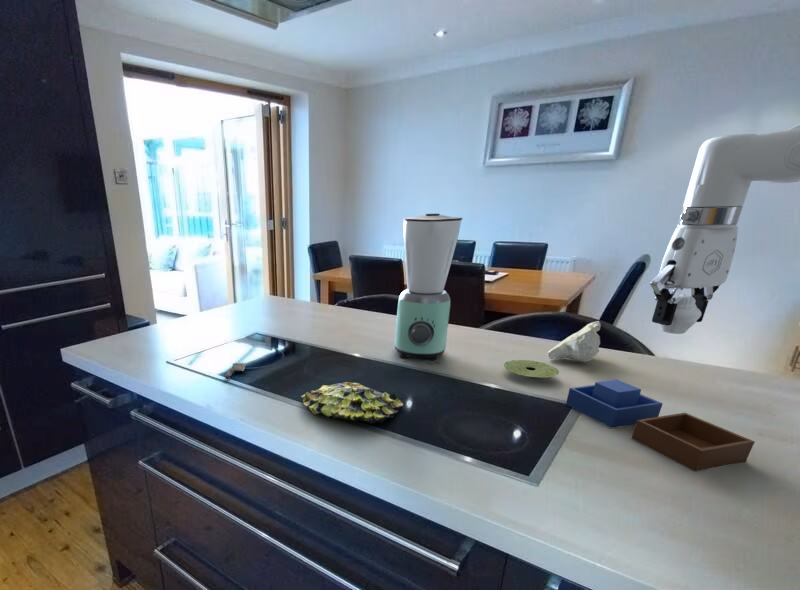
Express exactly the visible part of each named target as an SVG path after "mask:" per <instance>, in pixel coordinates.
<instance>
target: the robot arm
mask: <svg viewBox="0 0 800 590" xmlns="http://www.w3.org/2000/svg"><path fill="white" fill-rule="evenodd" d="M752 182H760V183H764V184H791V183H798V182H800V123H798V124H795V125H793V126H792V127H790V128H787V129H785V130H782V131H774V132H767V133H761V134H757V133H739V134H738V133H737V134H727V135H720V136H715V137H711V138H709V139H706V140H704V142H703V143H702V144H701V145H700V146H699V149H698V152H697V154H696V158H695V162H694V166H693V169H692V173H691V176H690V180H689V182H688V187H687V190H686V193H685V197H684V202H683V204H682V208H681V212H680V215H679V218H678V222H677V225H676V228H675V229H674V231H673V234H672V235H671V238H670V240H669V243H668V245H667V248H666V250H665V252H664V256H663V258H662V260H661V265H660V268H659V272H658V274H657V275H656V276H655V277H654V278H653V279H652V280H651V281H650V283H649V285H650V287H651V289H652V291H653V294H654V296H655V298H654V300H655V302H656V305H655V308H654V311H653V315H652V317H651V323H655V324H658V325H660V324H662V325H666V326H668V325H671V324H672V321H673V317H674V314H675V311H676V308H677V304H676V303H674V302H675V301H676V299H677V298H678V296H679V295H681V293H682V292H683V290H684V289H686V290H687V289H691V295H690V296H691V297H693V298H694V299H695V300H696V302H695V305H696V306H697V308H698V309H699V310H700V311H701V317H700V318H699V319H698V320H697V322H696V323H701V322H702V321H703V319H704V317H705V313H706V310H707V307H708V304H709V301H710V300H712V299H713V297H714V294H715V292H716V291H717V290H718V289H719V288H720V286H721V285H723V284H724V283H725V282H726V281H727V279H728V276H729V273H730V269H731V267H732V262H733V260H734V259H733V258H734V254H735V251H736V246H737V240H738V232H739V231H738V229H739V227H738V222H739V219H740V217H741V214H742V210H743V208H744V205H745V202H746V198H747V196H748V195H747V194H748V192H749V190H750V186H751V184H752ZM670 290H672V292H670Z"/></svg>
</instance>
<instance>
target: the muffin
mask: <svg viewBox="0 0 800 590" xmlns="http://www.w3.org/2000/svg"><path fill="white" fill-rule="evenodd" d="M695 302H696V300H695V299H694V298H693V297H692V296H691V295H686V294H685V293H683V294H680V295H679V296H678V298H677V299H676V301H675V302H674V303H676V304H677V308H676V311H675V314H674V317H673V321H672V324H671V325H668V326H666V325H662V324H659V326H660V329H661V331H662V332H664V333H667V334H676V335H684V334H685V333H686V332H687V331H689V330H690V329H691V328H692V327H693V326H694V325H695V324H696V323H698V322H697V320H698V319H699V318H700V317H701V311H700V310H699V309H698V308H697V306H696V305H695Z"/></svg>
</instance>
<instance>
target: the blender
mask: <svg viewBox="0 0 800 590" xmlns="http://www.w3.org/2000/svg"><path fill="white" fill-rule="evenodd" d="M402 219H403V246H404V263H405V264H404V265H405V277H406V289H404V290H403V291H402V292H401V293H400V295H399V297H398V302H397V309H396V321H395V333H394V343H393V345H394V349H395V350H396V352H398V354H399V358H401V359H407V358H408V357H411V358H419V359H428V358H429V360H430V361H433V362H434V361H438V359H439V357H440V356H441V355H442V354H444V353H445V350H446V346H447V340H448V339H447V338H448V329H449V322H450V314H451V313H450V312H451V297H450V295H449V293H448V292H447V291H446V290H445V286H446V283H447V279H448V275H449V272H450V268H451V264H452V261H453V257H454V254H455V250H456V246H457V243H458V240H459V235H460V230H461V223H462V220H463V217H460V216H449V215H443V214H440V213H437V212H435V213H425V214H424V215H423V214H422V215H418V216H412V217H403V218H402Z"/></svg>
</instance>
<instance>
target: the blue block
mask: <svg viewBox="0 0 800 590" xmlns="http://www.w3.org/2000/svg"><path fill="white" fill-rule="evenodd" d="M594 385H595V386H594V389H593V393H592V397H593V398H595V399H597V400H599V401H601V402H603V403H606V404H608V405H610V406H612V407H614V408H616V409H617V408H623V407H630V406H636V405H637V402H638V398H639V395H640V394H641V392H642V389H641V388H639V387H636V386H634V385H632V384H629V383H627V382H624V381H622V380H620V379H610V380H602V381H601V380H600V381H595V382H594Z"/></svg>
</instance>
